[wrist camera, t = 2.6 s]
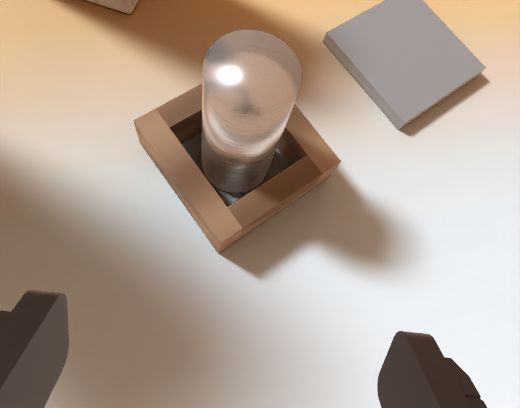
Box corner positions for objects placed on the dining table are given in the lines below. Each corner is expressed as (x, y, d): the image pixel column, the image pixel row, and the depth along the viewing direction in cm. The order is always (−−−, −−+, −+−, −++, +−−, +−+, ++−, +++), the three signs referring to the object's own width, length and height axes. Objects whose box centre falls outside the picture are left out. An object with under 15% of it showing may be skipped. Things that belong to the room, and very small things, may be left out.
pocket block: (140, 143, 28) (133, 120, 25) (249, 82, 30) (255, 55, 27) (218, 253, 26) (220, 242, 23) (326, 179, 29) (340, 161, 26)
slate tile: (322, 41, 32) (326, 32, 31) (404, -4, 35) (409, -14, 34) (398, 130, 31) (404, 123, 30) (477, 75, 33) (485, 67, 32)
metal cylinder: (188, 152, 28) (182, 55, 18) (242, 120, 29) (263, 15, 20) (227, 206, 27) (241, 133, 18) (281, 170, 28) (322, 85, 19)
